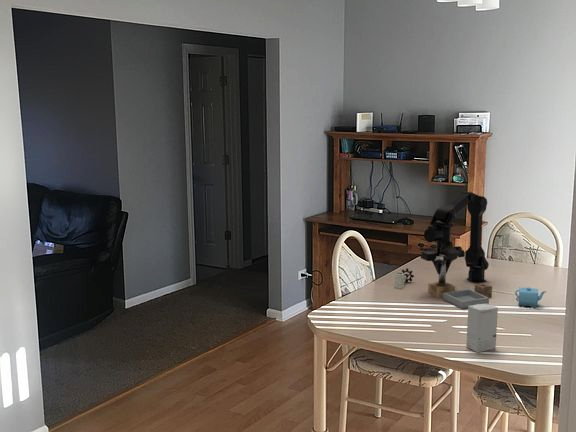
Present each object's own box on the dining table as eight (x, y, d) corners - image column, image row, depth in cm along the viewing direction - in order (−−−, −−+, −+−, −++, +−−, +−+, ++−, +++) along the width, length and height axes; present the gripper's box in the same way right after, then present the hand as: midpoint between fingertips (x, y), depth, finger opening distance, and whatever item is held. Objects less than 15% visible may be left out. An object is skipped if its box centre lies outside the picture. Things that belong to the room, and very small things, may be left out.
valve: (404, 290, 280) (414, 283, 291) (405, 275, 279) (414, 269, 289) (390, 288, 284) (400, 281, 294) (391, 273, 282) (400, 267, 293)
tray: (468, 295, 271) (469, 289, 271) (488, 305, 260) (489, 297, 259) (442, 299, 267) (443, 292, 266) (462, 309, 255) (462, 302, 254)
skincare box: (477, 353, 212) (479, 310, 209) (465, 346, 218) (467, 305, 215) (496, 348, 215) (499, 307, 213) (484, 342, 221) (486, 301, 218)
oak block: (443, 290, 280) (444, 281, 279) (454, 295, 272) (455, 286, 272) (428, 292, 277) (428, 283, 276) (438, 297, 270) (439, 288, 269)
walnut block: (484, 294, 274) (484, 282, 273) (491, 297, 269) (492, 286, 268) (474, 295, 272) (474, 284, 271) (481, 299, 267) (482, 287, 266)
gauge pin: (442, 281, 276) (443, 259, 274) (446, 283, 273) (447, 260, 271) (436, 282, 275) (437, 259, 273) (441, 284, 272) (441, 261, 270)
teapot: (545, 304, 259) (546, 287, 258) (546, 309, 254) (547, 291, 252) (514, 301, 263) (515, 284, 262) (514, 306, 258) (515, 288, 256)
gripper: (435, 244, 259) (434, 281, 262) (473, 240, 266) (472, 276, 269) (420, 238, 270) (419, 274, 273) (457, 234, 276) (456, 269, 279)
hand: (442, 273), depth 273 cm, fingers closed on gauge pin, 3 cm apart
